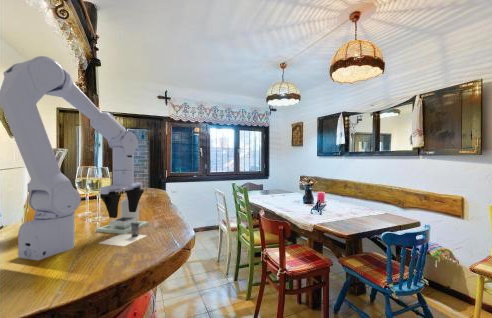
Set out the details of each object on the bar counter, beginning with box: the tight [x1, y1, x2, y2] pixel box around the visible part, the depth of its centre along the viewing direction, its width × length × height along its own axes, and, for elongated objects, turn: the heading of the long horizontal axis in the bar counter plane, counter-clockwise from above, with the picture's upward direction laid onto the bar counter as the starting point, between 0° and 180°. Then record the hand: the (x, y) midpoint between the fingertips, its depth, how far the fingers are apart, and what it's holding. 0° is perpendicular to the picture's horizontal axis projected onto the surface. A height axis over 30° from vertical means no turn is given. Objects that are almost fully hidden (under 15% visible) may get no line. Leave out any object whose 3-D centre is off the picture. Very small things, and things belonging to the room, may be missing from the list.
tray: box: [96, 220, 150, 235], centre depth 71 cm, size 10×10×2 cm
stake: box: [131, 223, 140, 237], centre depth 63 cm, size 2×2×3 cm
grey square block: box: [108, 216, 139, 230], centre depth 71 cm, size 5×5×3 cm
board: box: [98, 233, 147, 247], centre depth 61 cm, size 8×8×1 cm
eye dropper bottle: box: [120, 193, 140, 220], centre depth 81 cm, size 4×6×12 cm
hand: (123, 214), depth 71 cm, fingers open, 7 cm apart
